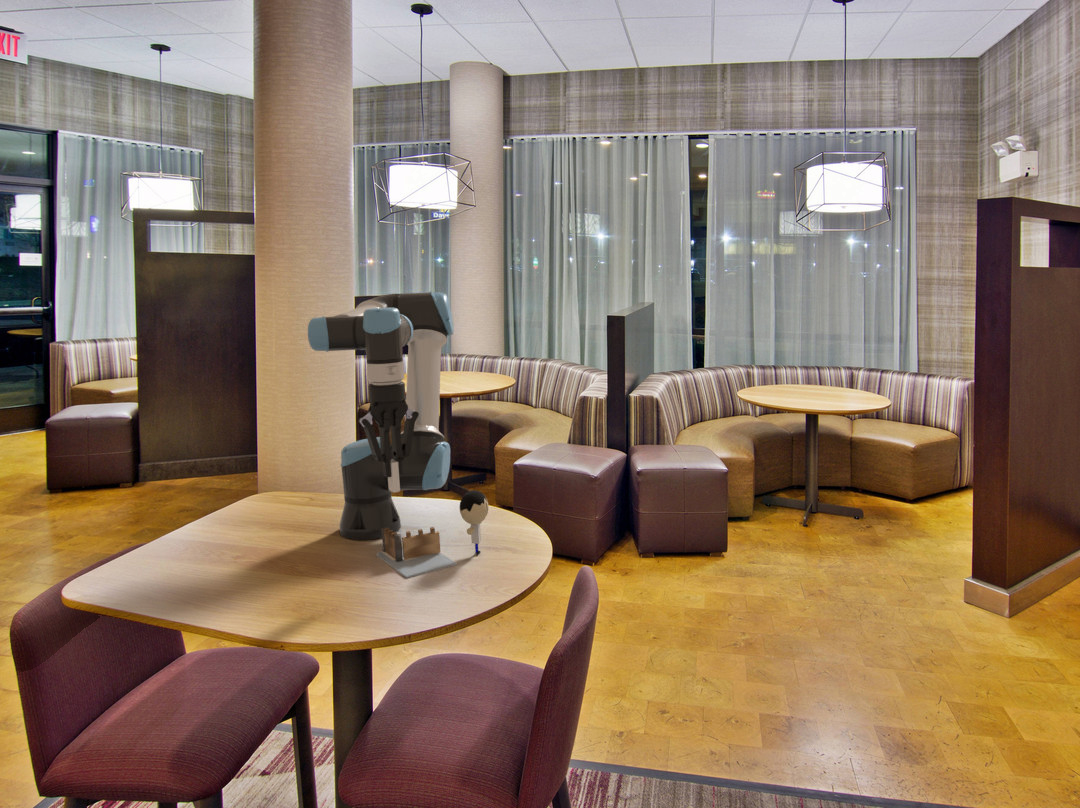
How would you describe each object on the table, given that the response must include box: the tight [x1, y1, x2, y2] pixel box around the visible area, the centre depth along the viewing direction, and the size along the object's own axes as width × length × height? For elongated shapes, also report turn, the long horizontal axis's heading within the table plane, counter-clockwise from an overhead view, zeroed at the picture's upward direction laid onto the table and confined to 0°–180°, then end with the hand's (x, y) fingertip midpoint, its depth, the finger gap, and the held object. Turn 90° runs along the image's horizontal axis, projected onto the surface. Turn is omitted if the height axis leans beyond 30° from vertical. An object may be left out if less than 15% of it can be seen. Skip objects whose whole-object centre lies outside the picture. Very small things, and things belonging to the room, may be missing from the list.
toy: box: [459, 489, 489, 555], centre depth 175 cm, size 9×7×15 cm
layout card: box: [376, 546, 457, 579], centre depth 174 cm, size 17×12×1 cm
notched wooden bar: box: [401, 526, 441, 559], centre depth 175 cm, size 8×1×6 cm, turn 113°
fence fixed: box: [381, 527, 403, 562], centre depth 176 cm, size 9×2×6 cm, turn 34°
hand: (394, 490), depth 165 cm, fingers closed
